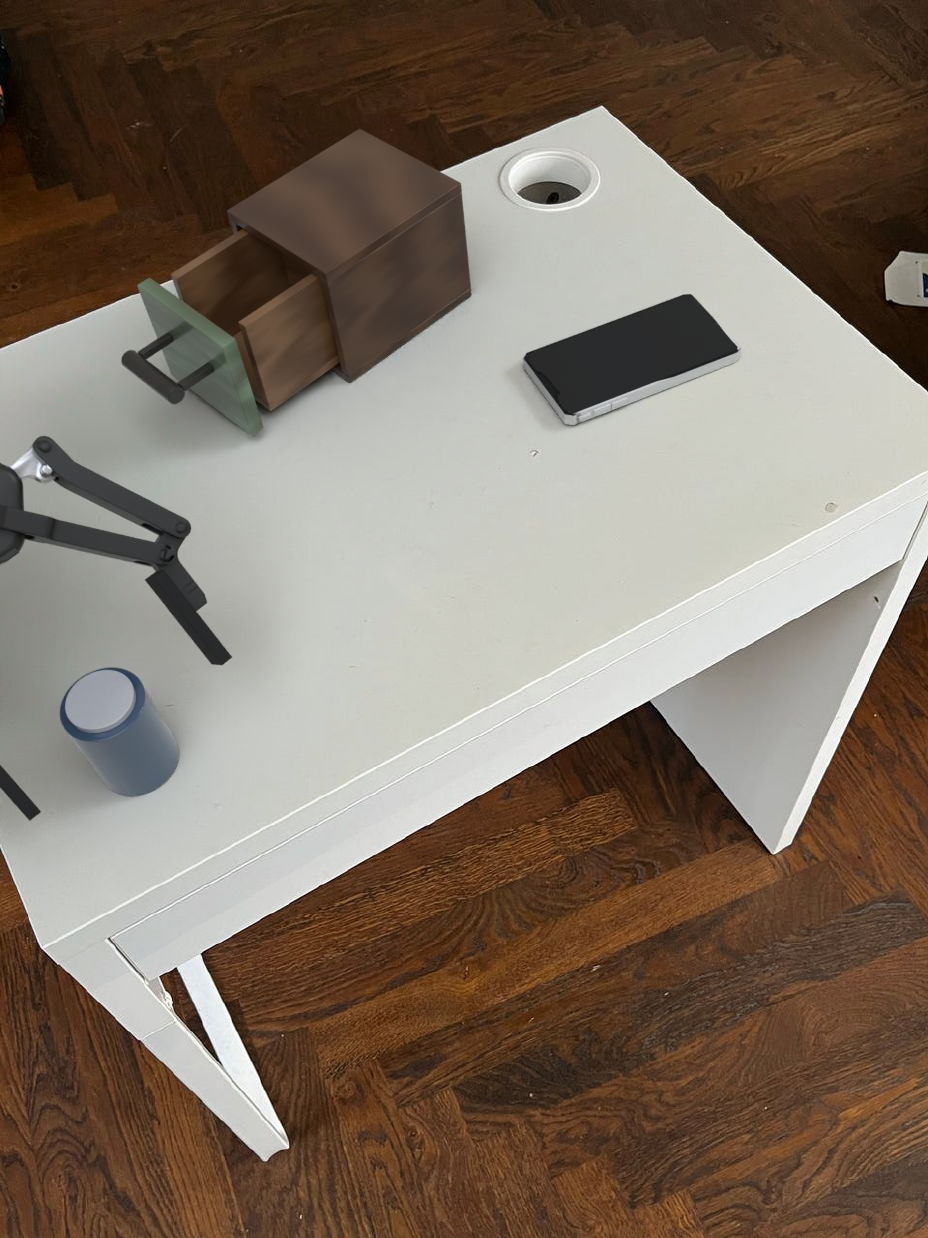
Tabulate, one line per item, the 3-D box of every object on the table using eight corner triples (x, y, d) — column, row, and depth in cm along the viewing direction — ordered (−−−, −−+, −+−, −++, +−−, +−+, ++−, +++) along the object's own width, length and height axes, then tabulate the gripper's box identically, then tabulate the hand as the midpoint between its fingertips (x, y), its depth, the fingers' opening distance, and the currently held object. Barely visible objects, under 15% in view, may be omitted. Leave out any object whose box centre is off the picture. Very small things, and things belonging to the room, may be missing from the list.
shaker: (130, 812, 70) (87, 753, 64) (85, 762, 72) (39, 701, 66) (195, 758, 72) (159, 696, 66) (149, 711, 74) (110, 647, 68)
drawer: (208, 468, 85) (173, 380, 78) (128, 403, 90) (88, 314, 83) (374, 349, 91) (356, 257, 84) (291, 294, 96) (267, 202, 88)
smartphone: (744, 350, 87) (568, 418, 84) (742, 362, 88) (568, 430, 85) (688, 290, 92) (520, 353, 89) (687, 302, 93) (520, 365, 90)
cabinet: (350, 383, 90) (325, 273, 82) (258, 320, 95) (226, 210, 87) (472, 295, 95) (461, 182, 86) (378, 240, 100) (359, 128, 92)
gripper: (63, 326, 69) (275, 605, 75) (-330, 575, 60) (-57, 871, 66) (81, 292, 62) (312, 601, 68) (-359, 567, 54) (-52, 897, 59)
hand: (131, 735), depth 67 cm, fingers open, 13 cm apart
